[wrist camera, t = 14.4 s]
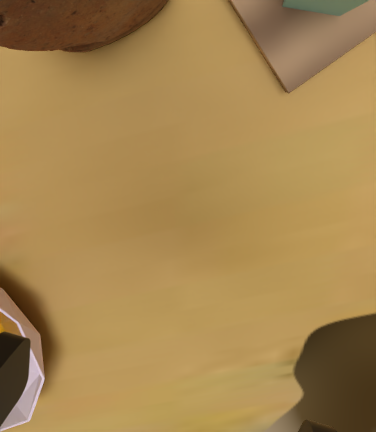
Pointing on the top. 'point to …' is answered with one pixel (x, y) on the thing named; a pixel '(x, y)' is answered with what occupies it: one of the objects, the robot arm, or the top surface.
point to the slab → (303, 36)
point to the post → (324, 5)
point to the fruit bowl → (19, 325)
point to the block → (71, 22)
